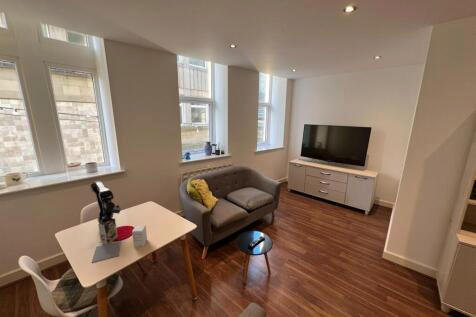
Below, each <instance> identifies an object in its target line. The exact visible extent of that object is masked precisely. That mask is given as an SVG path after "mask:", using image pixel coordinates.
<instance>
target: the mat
mask: <svg viewBox="0 0 476 317" xmlns="http://www.w3.org/2000/svg"><path fill="white" fill-rule="evenodd" d="M121 242H122V241H121V240H118V241H114V242H111V243H109V244H101V245H97V246H96V248H95V251H94V254H93V256H92V260H91V263H92V264H93V263H98V262H100V261H105V260H108V259H112V258H115V257H119V255H120V250H121V244H122V243H121Z"/></svg>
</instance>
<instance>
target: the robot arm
mask: <svg viewBox="0 0 476 317" xmlns="http://www.w3.org/2000/svg"><path fill="white" fill-rule="evenodd" d="M89 187H90V190H91V192H92V193H93V194H94V195H95V198H96V203H97V207H98V209H99V212H98V214H97V222H98V224H99V223H101V222H106V221H111V220H112V218H113V217H114V214H117V215H118V214H120V213H121V209H122V208H121V206H120V205H119V204H117V205H115V203H114V202H113V201H112V200H114V198H115V196H114V194H113V192H112V190H110V188H107V187H105V185H104V182H103V181H102V180H96V181H94V182H93V183H91V184H90V185H89Z"/></svg>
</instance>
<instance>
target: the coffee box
mask: <svg viewBox="0 0 476 317" xmlns="http://www.w3.org/2000/svg"><path fill="white" fill-rule="evenodd" d="M98 231H99V236H100V238H99V239H100V243H101V244H103V245H105V244H110V243H113V241H114V240H116V239H117V238H119V237H118V231H117V223H116V218H113V217H112V220H111V221H106V222H101V223H99V222H98Z"/></svg>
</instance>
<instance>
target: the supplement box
mask: <svg viewBox="0 0 476 317" xmlns="http://www.w3.org/2000/svg"><path fill="white" fill-rule="evenodd" d="M131 235H132V243H133V247H144V246H145V244H146V243H147V241H148V234H147V226H146V225H136V226H135V227H134V228H133V229H132V231H131Z"/></svg>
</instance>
